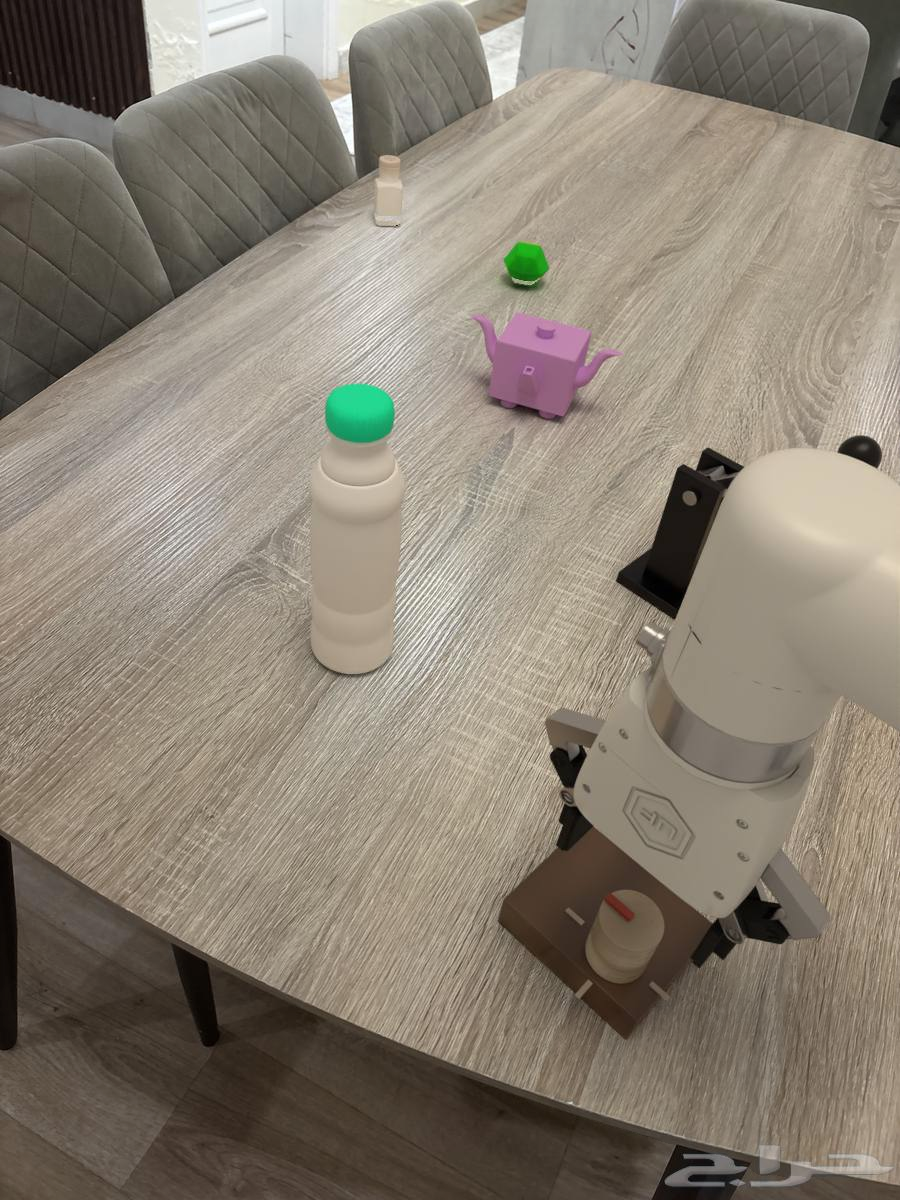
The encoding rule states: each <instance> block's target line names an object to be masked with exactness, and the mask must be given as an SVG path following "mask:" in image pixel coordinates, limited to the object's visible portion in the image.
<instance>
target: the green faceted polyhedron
mask: <svg viewBox="0 0 900 1200" xmlns="http://www.w3.org/2000/svg"><path fill="white" fill-rule="evenodd" d="M503 262H504V265H505V268H506V270H507V272H508V275H509V274H510V275H509V277H510V276H511V277H513V278H515V279H519V280H523V281H535V280H537V279H538V278H540V277H542V276H543V277H544V276H545V274H546V273H547V272H548V271H549V270H550V266H549V263H548V261H547V258H546V255H545V253H544V250H543V247H542V246H541V244H538V243H533V242H527V241H517V242H516V244H515V245H514V246H513V247H512V249H510V251H509V252H508V253H507V254H506V256H505V257H504V258H503ZM511 277H510V280H511V282H512V283H513V284H514V285H518V286H525V287H534V286H536V285H537V284H538V282H539V281H540V280H538V281H537V282H535V283H534V284H532V285H524V284H519V283H514V282H513V281H512V279H511ZM543 277H542V278H543Z"/></svg>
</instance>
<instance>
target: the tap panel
mask: <svg viewBox="0 0 900 1200" xmlns="http://www.w3.org/2000/svg"><path fill="white" fill-rule="evenodd" d="M619 890H633V891H637V892H640V893H642V894H644V895H645V896H647V897H648V898H650V899H651V900H652V901H653V902H654V903H655V904H656V905H657V907H658V908H659V910H660V911H661V913H662V916H663V919H664V934H663V937H662V939H661V941H660V942H659V944H658V946H657V948H656V950H655V952H654V954H653V956H652V957H651V959H650V961H649V963H648V965H647V967H646V969H645V970H644V972H643V974H642V975H641V976H640V977H639V978H638V979H636V980H635V981H633V982H630V983H625V984H619V983H613V982H610V981H607V980H605V979H604V978H602V977H601V976H599V975H598V974H597V973H596V972H595V971H594V970H593V969H592V967H591V966H590V964H589V962H588V960H587V957H586V952H585V945H586V940H587V938H588V935H589V933H590V930H591V928H592V926H593V923H594V921H595V918H596V916H597V914H598V911H599V909H600V906H601V904H602V902H603V901H604V899H605V898H606V896H607V895H608V894H609V893H613V892H616V891H619ZM497 922H498V923H499V924H501V926H502V927H504V928H505V929H506V930H507V931H508V932H509V933H510V934H511V935H512V936H513V937H514V938H516V940H517V941H519V942H520V943H521V944H522V945H523V946H524V947H525V948H526V949H527V950H528V951H529V952H530V953H532V954H533V955H534V956H535V957H536V958H537V959H538V960H539V961H540V962H541V963H542V964H544V966H546V967H547V968H548V969H549V970H550V971H551V972H552V973H553V974H554V975H555V976H556V977H558V979H560V980H561V982H563V984H565V985H566V986H567V987H568V988H569V989H570V990H571V991H572V992H573V993H575V994H574V997H575V998H576V999H578V1000H580V999H581V1000H583V1002H584V1003H585V1004H587V1005H588V1006H589V1008H590V1009H592V1010H593V1011H594V1012H595V1013H596V1014H597V1015H598V1016H600V1018H602V1019H603V1020H604V1021H605V1022H606V1023H607V1024H608V1025H609V1026H610V1027H611V1028H612V1029H613V1030H614V1031H616V1032H617V1033H618V1034H619V1035H620V1036H621V1037H622V1038H623V1039H624V1040H625V1041H626V1040H628V1039H629V1038H630V1037H631V1035H632V1034H633V1033H634V1032H635V1031H636V1029H637V1028H638V1026H640V1025H641V1023H642V1022H643V1021H644V1020H645V1018H646V1017H647V1016H648V1014H649V1013H650V1012H651V1011H652V1010H653V1008H655V1006H656V1005H657V1003H658V1002H659V1001H660V1000H661V999H663V1000H664V1001H665V1002H668V1001H669V1000H670V999H671V996H670V995H669V994H668V993H667V991H669V990H670V988H671V986H672V985H673V984H674V983H675V982H676V980H677V979H678V978H679V977H680V975H681V974H682V973H683V972H684V970H685V969H686V968H688V966H689V965H690V963H692V961H693V960H692V959H691V958H690V957H691V956H692V954H693V953H694V951H695V950H696V948H697V946H698V945H699V943H700V942H701V940H702V939H703V937H704V935H705V934H706V932H707V931H708V929H709V928H710V927H711V925H712V924H713V923H714V922H712V921H710V920H709V919H708V918H707V917H706V916H704V914H703V913H701V912H700V911H698V910H696V909H695V908H693V907H692V906H690V905H689V904H688V903H686V902H685V901H684V900H682V899H681V898H680V897H679V896H677V895H676V894H675V893H674V892H672V891H671V890H670V889H669V888H667V887H666V886H665V885H664V884H662V883H661V882H660V881H659V880H658V879H656V878H655V877H654V876H653V875H651V874H650V873H649V872H648V871H647V870H645V869H644V868H643V867H642V866H640V865H639V864H638V863H637V862H636V861H634V860H633V859H632V858H631V857H630V856H628V855H627V854H626V853H625V852H624V851H623V850H621V849H620V848H619V847H618V846H617V845H615V844H614V843H613V842H612V841H611V840H609V839H608V838H607V837H606V836H605V835H604V834H602V833H601V832H600V831H599V830H598V829H597V828H596V827H594V826H593V827H592V828H591V829H590V830H589V831H588V832H587V833H586V834H585V835H584V836H583V837H582V838H581V839H580V840H579V841H578V842H577V843H576V844H575V845H574V846H573V847H571V848H570V849H569V850H568V851H567V852H566V851H565V850H564V851H562V850H561V849H559V848H558V847H556V848H555V850H553V851H552V852H551V853H550V854H549V855H548V856H547V857H545V859H544V860H543V861H542V862H540V863H539V864H538V866H536V867H535V869H534V870H532V871H531V872H530V873H529V874H528V875H527V876H526V877H525V878H524V879H523V880H522V881H521V882H520V883H519V884H518V885H517V886H516V887H515V888H513V890H512V891H510V892H509V893H508V894H507V895H506V896H505V897H504V898H503V900H502V903H501V907H500V911H499V915H498V919H497Z"/></svg>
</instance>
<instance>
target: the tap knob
mask: <svg viewBox="0 0 900 1200" xmlns="http://www.w3.org/2000/svg"><path fill="white" fill-rule="evenodd" d="M663 934H664V919H663V916H662V913H661V911H660V910H659V908H658V907H657V905H656V904H655V903H654V902H653V901H652V900H651V899H650V898H648V897H647V896H645V895H644V894H642V893H640V892H637V891H633V890H619V891H616V892H613V893H609V894H608V895H607V896H606V898H605V899H604V901H603V902H602V904H601V906H600V909H599V911H598V914H597V916H596V918H595V921H594V923H593V926H592V928H591V930H590V933H589V935H588V938H587V940H586V945H585V952H586V957H587V960H588V962H589V964H590V966H591V967H592V969H593V970H594V971H595V972H596V973H597V974H598V975H599V976H601V977H602V978H604V979H605V980H607V981H610V982H613V983H619V984H625V983H630V982H633V981H635V980H636V979H638V978H639V977H640V976H641V975H642V974H643V972H644V970H645V969H646V967H647V965H648V963H649V961H650V959H651V957H652V956H653V954H654V952H655V950H656V948H657V946H658V944H659V942H660V941H661V939H662V937H663Z"/></svg>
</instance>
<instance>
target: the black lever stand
mask: <svg viewBox="0 0 900 1200" xmlns="http://www.w3.org/2000/svg"><path fill="white" fill-rule="evenodd" d="M698 459H699V460H698V463H697V466H696V468H695V469H694V468H692V467H690V466H688V465H686V464H685V463H682V464H681V465H679V466H678V467H676V471H675V474H674V477H673V480H672V482H671V486H670V490H669V492H668V496H667V499H666V502H665V505H664V508H663V511H662V514H661V518H660V521H659V524H658V527H657V529H656V533H655V536H654V538H653V541H652V545H651V548H649V549H648V550H646V551H645V552H643V553H642V554H641V555H640V556H638V557H637V558H635V559H634V560H633V561H631V562H630V563H628V564H627V565H625V567H624V568H622V569H620V570H619V571H618V573H617V576H616V579H615V581H616V583H619V584H620V585H621V586H623V587H625V588H626V589H628V590H629V591H631V592H632V593H634V594H635V595H637V596H639V598H641V599H643V600H645V601H646V602H647V603H649V604H651V605H652V606H654V607H655V608H656V609H657V610H660V611H661V612H663V613H664V614H666V615H667V616H669V617H670V618H672V619H673V620H675V619H676V617H677V614H678V612H679V609H680V607H681V604H682V602H683V599H684V597H685V594H686V592H687V589H688V587H689V584H690V581H691V579H692V576H693V574H694V571H695V569H696V566H697V564H698V561H699V559H700V556H701V553H702V551H703V548H704V546H705V543H706V541H707V538H708V536H709V533H710V531H711V528H712V525H713V523H714V520H715V518H716V515H717V513H718V510H719V508H720V505H721V503H722V501H723V498H724V497H723V494H724V491H725V489H726V488H725V487H724V486H722V485H720V484H719V483H717V482H715V481H713V480H712V479H710V478H708V477H706V476H704V475H703V474H701V473H699V472H697V471H700V470H705V469H709V468H714V467H719V466H723V467H724V470H725V472H726V474H732V473H737V472H740V471H741V470H742V469H743V468H744V467H745V466H744V465H741V464H739V463H738V462H736V461H734V460H732V459H731V458H728V457H727V456H725V455H723V454H721V453H719V452H718V451H716V450H714V449H712V448H710V447H708V446H707V447H705V449H703V450H702V452H701V453H700V457H699V458H698Z"/></svg>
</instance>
